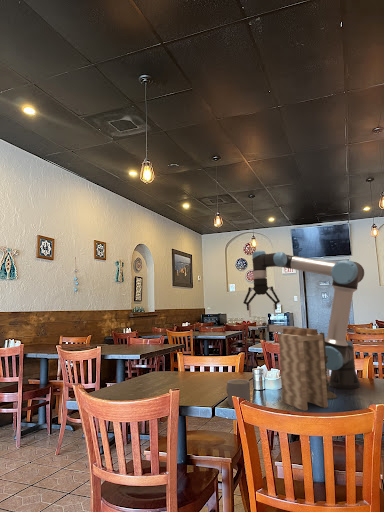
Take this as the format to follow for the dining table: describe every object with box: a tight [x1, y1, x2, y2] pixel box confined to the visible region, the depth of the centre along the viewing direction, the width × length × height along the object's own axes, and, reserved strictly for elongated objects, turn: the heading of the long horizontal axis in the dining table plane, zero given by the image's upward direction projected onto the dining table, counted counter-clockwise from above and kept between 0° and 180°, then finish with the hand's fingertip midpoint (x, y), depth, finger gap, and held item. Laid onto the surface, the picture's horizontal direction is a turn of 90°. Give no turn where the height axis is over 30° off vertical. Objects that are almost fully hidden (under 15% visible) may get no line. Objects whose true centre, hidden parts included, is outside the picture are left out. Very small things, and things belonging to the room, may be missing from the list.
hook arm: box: [266, 323, 299, 334], centre depth 187 cm, size 23×4×4 cm, turn 18°
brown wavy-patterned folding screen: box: [278, 327, 329, 412], centre depth 171 cm, size 16×12×32 cm
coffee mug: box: [226, 378, 252, 407], centre depth 175 cm, size 13×10×10 cm
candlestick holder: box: [319, 331, 338, 400], centre depth 182 cm, size 9×9×30 cm
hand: (262, 316), depth 219 cm, fingers open, 13 cm apart
